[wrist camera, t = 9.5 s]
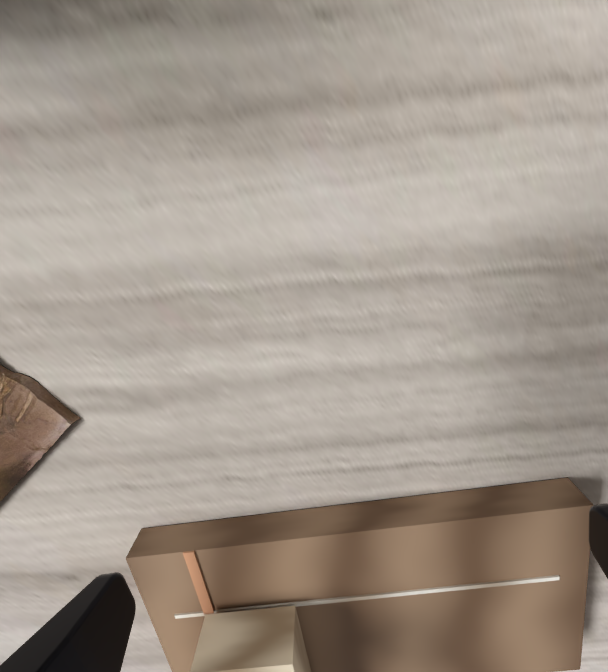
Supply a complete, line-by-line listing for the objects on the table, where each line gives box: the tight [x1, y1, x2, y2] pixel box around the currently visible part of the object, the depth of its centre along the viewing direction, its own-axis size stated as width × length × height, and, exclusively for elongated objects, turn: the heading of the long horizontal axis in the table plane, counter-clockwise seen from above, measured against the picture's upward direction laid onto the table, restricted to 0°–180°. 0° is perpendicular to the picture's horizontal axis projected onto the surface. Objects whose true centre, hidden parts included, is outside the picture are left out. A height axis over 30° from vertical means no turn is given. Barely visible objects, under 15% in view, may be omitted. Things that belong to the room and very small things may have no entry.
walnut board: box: [126, 478, 594, 672], centre depth 22 cm, size 24×12×2 cm, turn 100°
